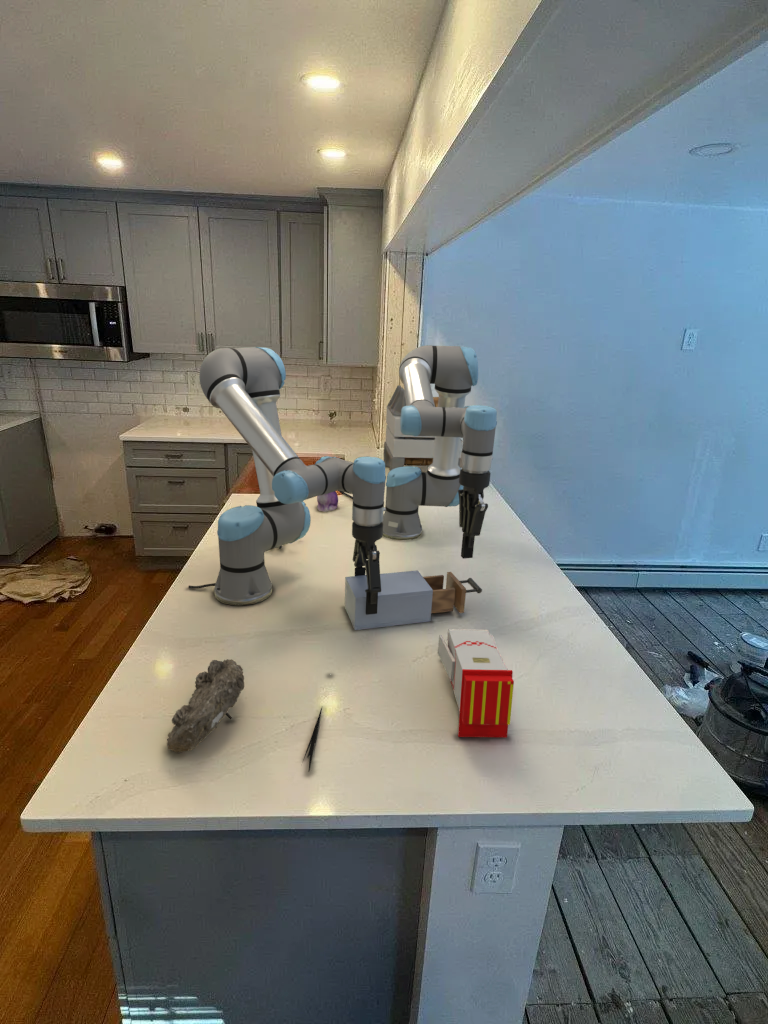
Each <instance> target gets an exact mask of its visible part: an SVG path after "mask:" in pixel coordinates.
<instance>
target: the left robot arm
mask: <svg viewBox="0 0 768 1024" xmlns="http://www.w3.org/2000/svg"><path fill="white" fill-rule="evenodd" d="M198 373H199V376H198V377H199V378H198V379H199V385H200V388H201V390H202V393H203V394H204V396H205V398H206V399H207V401H208V402H209V403H210V405H212V407H214V408H215V409H220V411H221V412H222V413H223V415H225V417H226V418H227V420H228V421H229V422H230V423H231V425H232V426H233V427H234V429H235V430H236V431H237V433H239V435H240V436H241V437H242V439H243V440H244V441H245V442H246V444H247V445H248V446H249V448H250V449H251V451H252V457H253V462H254V467H255V473H256V478H257V484H258V489H259V493H260V494H259V496H258V497H257V499H256V500H255V503H256V505H251V504H250V505H249V504H248V505H247V504H246V505H244V506H242V505H238V506H234V507H231V508H229V509H226V510H225V511H224V512H222V513H221V514H220V516H219V517H218V520H217V531H216V533H217V538H218V540H217V541H218V555H219V571H218V574H217V578H216V581H215V583H213V582H212V583H206V584H200V585H188V586H187V588H188V589H195V590H196V589H197V590H198V589H203V588H210V587H214V589H213V591H214V598H215V599H216V600H217V601H219V602H221V603H222V604H225V605H230V606H237V607H239V606H249V605H254V604H259V603H261V602H263V601H265V600H266V599H268V598H269V597H271V595H272V593H273V582H272V579H271V578H270V574H269V572H268V570H267V567H266V562H265V561H266V560H265V553H267V552H269V551H271V550H274V549H277V548H279V547H280V546H282V547H283V546H286V545H288V544H293V543H295V542H297V541H298V540H300V539H303V538H304V537H305V536H306V535H307V533H308V532H309V530H310V527H311V523H312V522H311V512H310V510H309V509H310V508H309V507H308V506H306V505H307V504H306V502H305V501H306V500H309V499H312V498H315V497H316V498H317V496H320V495H324V494H327V493H331V492H334V491H336V492H339V491H342V492H344V493H346V494H348V495H352V497H353V499H352V504H351V505H352V506H351V507H352V508H351V512H352V513H351V520H352V523H351V536H352V537H353V538H354V539H355V540H354V547H353V555H352V562H353V565H354V576H361V575H366V577H367V586H368V589H366V590H365V592H366V615H369V614H377V605H378V592H381V580H380V574H381V567H380V554H381V552H380V550H378V547H377V545H376V542H378V541H380V540H381V539H382V538H383V537H384V536H383V523H382V521H383V515H384V512H385V511H386V508H385V493H386V490H385V489H386V481H387V475H386V466H385V463H384V459H382V458H379V457H376V456H367V455H366V456H359V457H356V458H355V459H354V460H353V461H349V460H346V459H342V458H340V457H337V456H329V455H325V456H321V457H319V459H318V460H316V462H315V463H314V464H309V465H306V464H305V463H304V462H303V460H302V459H301V458H300V457H299V455H297V453H296V452H295V451H294V449H293V448H292V447H291V445H289V443H288V442H287V441H286V439H285V438H284V437H283V435H282V430H281V424H280V423H281V422H280V419H279V418H280V417H279V412H278V406H277V402H278V400H279V399H280V397H281V391H280V390H281V389H282V388H283V387H284V385H285V384H286V383H285V381H286V378H287V373H286V367H285V365H284V362H283V360H282V358H281V357H280V355H279V354H278V353H277V352H276V351H274V350H273V349H271V348H270V347H260V346H247V347H221V348H217V349H215V350H213V351H211V352H209V353H208V354H207V355H206V356H205V357H204V358H203V361H202V362H201V364H200V368H199V372H198Z"/></svg>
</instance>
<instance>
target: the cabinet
mask: <svg viewBox="0 0 768 1024" xmlns="http://www.w3.org/2000/svg"><path fill="white" fill-rule="evenodd" d="M423 577H424V576H423V575H422V574H421V572H420V571H419V570H418V569H416V570H406V571H396V572H395V571H394V572H385V573H384V572H383V573H380V580H381V592H378V605H377V614H369V615H366V592H365V590H366V589H368V586H367V577H366V574H365V575H361V576H355V575H352V576H351V575H349V576H345V580H344V584H345V585H344V609H345V611H346V614H347V616H348V618H349V621H350V623H351V625H352V628H353V630H354V631H359V630H360V631H361V630H367V629H376V628H378V629H379V628H387V627H393V626H402V625H403V626H404V625H411V624H419V623H429V622H431V620H432V613H431V608H432V595H433V594H432V593H433V590H432V588H431V587H430V586H429V584H428V583H427V582H426V580H425V579H424V578H423Z"/></svg>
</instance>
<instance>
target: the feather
mask: <svg viewBox="0 0 768 1024" xmlns="http://www.w3.org/2000/svg"><path fill="white" fill-rule="evenodd" d="M329 675H330V676H331V675H332V674H331V673H330V674H329ZM322 710H323V707H321V708H320V710H319V713H318V716H317V719H316V723H315V725H314V728H313V731H312V733H311V737H310V739H309V742H308V745H307V748H306V751H305V754H304V757H303V760H302V763H301V767H302V765H303V763H304V761H305V758H308V759H309V760H308V762H307V763H308V764H307V766H308V771H310V770H311V766H312V765H311V764H312V760H313V757H315V756H314V755H315V751H316V749H315V746H317V739H318V733H319V729H320V722H321V717H322V712H323V711H322ZM313 754H314V755H313ZM306 755H307V757H306Z"/></svg>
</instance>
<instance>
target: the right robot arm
mask: <svg viewBox="0 0 768 1024" xmlns="http://www.w3.org/2000/svg"><path fill="white" fill-rule="evenodd" d="M398 376H399V380H400V382H401V383H402V384H403V389H404V390H405V398H406V406H404V407H403V408H402V409H401V420H400V425H401V426H400V427H401V433H402V434H404V435H412V436H435V443H434V454H433V463H432V464H431V465H428V466H427V471H422V469H421V468H420V467H419V466H407V465H404V467H398V468H395V469H392V470H391V471H390V470H388V473H387V475H386V481H385V489H386V490H385V503H384V507H385V508H386V511H384V512H383V514H384V515H383V521H382V523H383V536H382V537H385V538H387V539H389V540H395V541H410V540H415V539H418V538H420V537H421V536H422V535H423V525H422V524H421V518H420V515H419V507H445V508H449V507H457V506H458V511H459V513H458V517H459V518H458V519H459V522H458V524H459V525H458V526H459V528H461V532H462V540H461V549H460V557H461V558H462V559H473V558H474V550H475V548H474V547H475V539H476V537H480V535H481V532H482V528H483V524H484V519H485V515H486V512H487V510H488V508H489V504H488V502H487V503H486V502H485V501H484V497H485V495H484V493H485V492H484V490H485V489H486V488H488V487H489V486H490V484H491V483H490V482H491V475H492V474H491V469H492V462H493V459H494V457H493V455H494V444H495V439H496V438H495V437H496V429H497V424H498V421H497V415H498V411H497V409H496V408H494V407H492V406H489V405H482V404H481V405H480V404H479V405H478V404H477V405H476V404H475V405H465V404H466V397H467V396H468V395H469V394H470V393H471V392H472V387H475V386H477V385H478V380H479V362H478V356H477V352H476V351H475V349H474V348H472V347H470V346H462V345H432V344H426V345H421V346H418V347H416V348H414V349H412V350H410V351H409V352H408V353H406V355H404V356H403V358H402V360H401V362H400V364H399V367H398ZM431 385H434V391H435V392H436V393H437V395H438V397H439V398H438V407H435V404H434V400H433V397H434V396H433V390H432V386H431ZM461 437H463V438H461ZM461 440H462V441H463V443H462V453H461V464H460V467H461V468H460V467H459V466H458V459H459V450H460V441H461ZM338 493H340V494H342V495H344V496H345V497H348V498H349V499H351V500H353V495H351V494H349V493H346V492H342V491H338Z"/></svg>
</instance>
